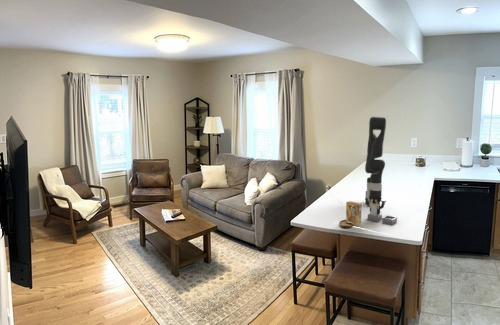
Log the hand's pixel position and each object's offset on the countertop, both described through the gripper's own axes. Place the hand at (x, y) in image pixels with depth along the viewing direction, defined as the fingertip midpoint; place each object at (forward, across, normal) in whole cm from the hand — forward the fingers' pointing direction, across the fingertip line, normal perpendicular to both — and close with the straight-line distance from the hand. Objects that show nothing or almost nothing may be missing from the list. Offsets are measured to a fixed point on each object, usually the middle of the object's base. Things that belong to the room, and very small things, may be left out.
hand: (374, 213), depth 233 cm
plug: (+4, 0, 0) cm, 4 cm away
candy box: (+5, -7, -17) cm, 19 cm away
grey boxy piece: (+5, +5, 0) cm, 7 cm away
